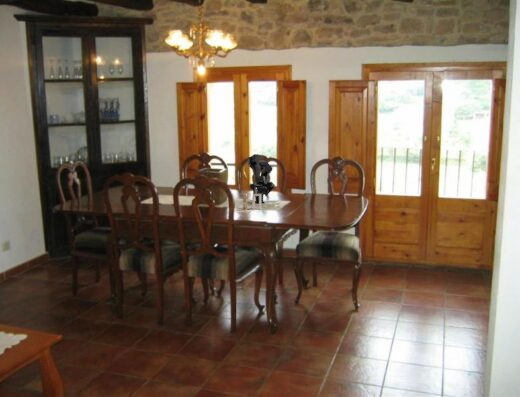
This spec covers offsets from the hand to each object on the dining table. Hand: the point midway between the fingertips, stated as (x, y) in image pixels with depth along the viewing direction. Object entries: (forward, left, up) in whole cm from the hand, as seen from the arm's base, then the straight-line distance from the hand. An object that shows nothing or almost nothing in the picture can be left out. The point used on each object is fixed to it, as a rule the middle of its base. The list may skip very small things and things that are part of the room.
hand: (260, 196), depth 403 cm
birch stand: (+10, -14, -9) cm, 20 cm away
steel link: (+7, -4, -9) cm, 12 cm away
